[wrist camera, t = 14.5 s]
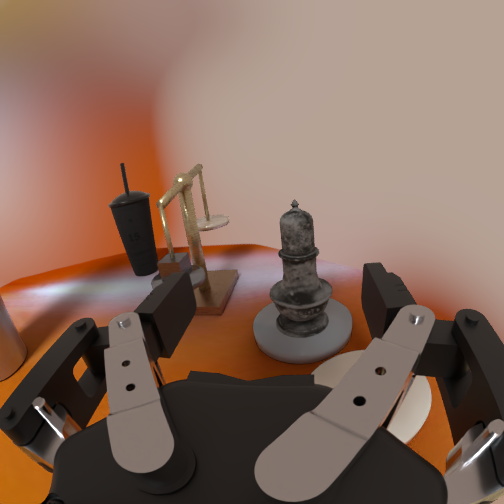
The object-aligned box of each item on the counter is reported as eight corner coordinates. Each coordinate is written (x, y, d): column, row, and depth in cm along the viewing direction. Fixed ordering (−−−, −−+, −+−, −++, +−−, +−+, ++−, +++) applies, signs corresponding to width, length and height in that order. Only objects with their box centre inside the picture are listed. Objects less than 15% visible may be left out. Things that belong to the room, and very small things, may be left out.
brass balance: (154, 335, 29) (110, 185, 23) (203, 266, 46) (184, 166, 40) (210, 338, 27) (173, 170, 21) (243, 264, 44) (227, 158, 38)
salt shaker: (306, 299, 30) (299, 191, 26) (343, 321, 25) (345, 197, 21) (261, 319, 27) (246, 202, 23) (296, 348, 22) (286, 211, 18)
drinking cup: (126, 270, 49) (102, 169, 42) (161, 258, 52) (140, 159, 45) (129, 283, 43) (100, 168, 36) (170, 270, 46) (145, 156, 39)
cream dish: (296, 464, 13) (296, 458, 13) (302, 363, 22) (302, 354, 22) (439, 443, 11) (446, 434, 11) (409, 353, 20) (412, 343, 20)
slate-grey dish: (246, 364, 23) (244, 354, 23) (261, 305, 32) (260, 296, 32) (358, 359, 21) (359, 350, 21) (345, 300, 30) (345, 292, 30)
